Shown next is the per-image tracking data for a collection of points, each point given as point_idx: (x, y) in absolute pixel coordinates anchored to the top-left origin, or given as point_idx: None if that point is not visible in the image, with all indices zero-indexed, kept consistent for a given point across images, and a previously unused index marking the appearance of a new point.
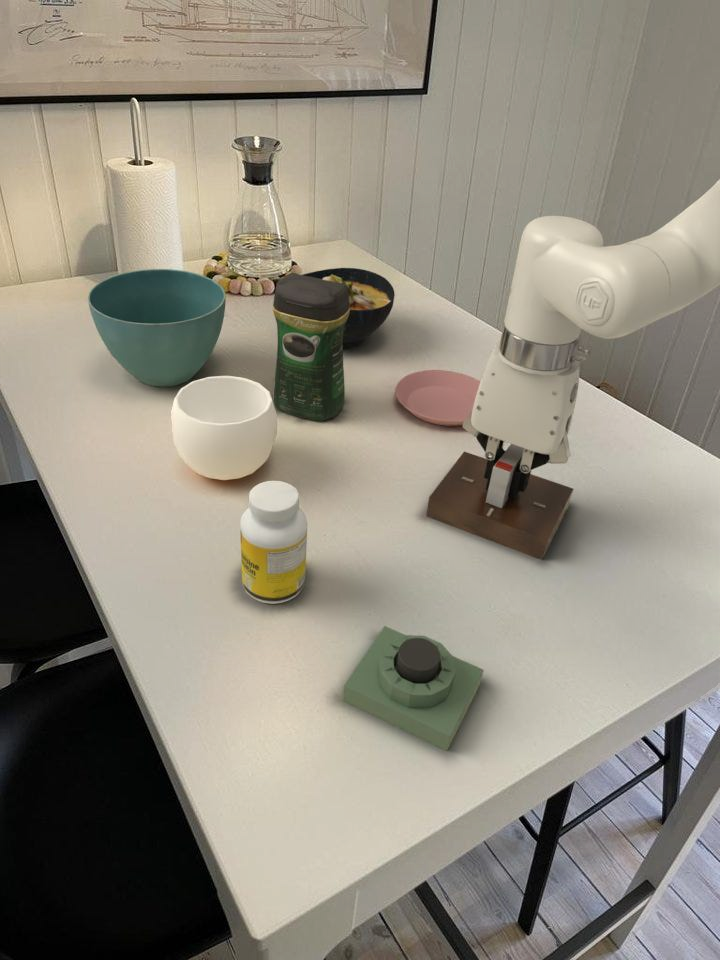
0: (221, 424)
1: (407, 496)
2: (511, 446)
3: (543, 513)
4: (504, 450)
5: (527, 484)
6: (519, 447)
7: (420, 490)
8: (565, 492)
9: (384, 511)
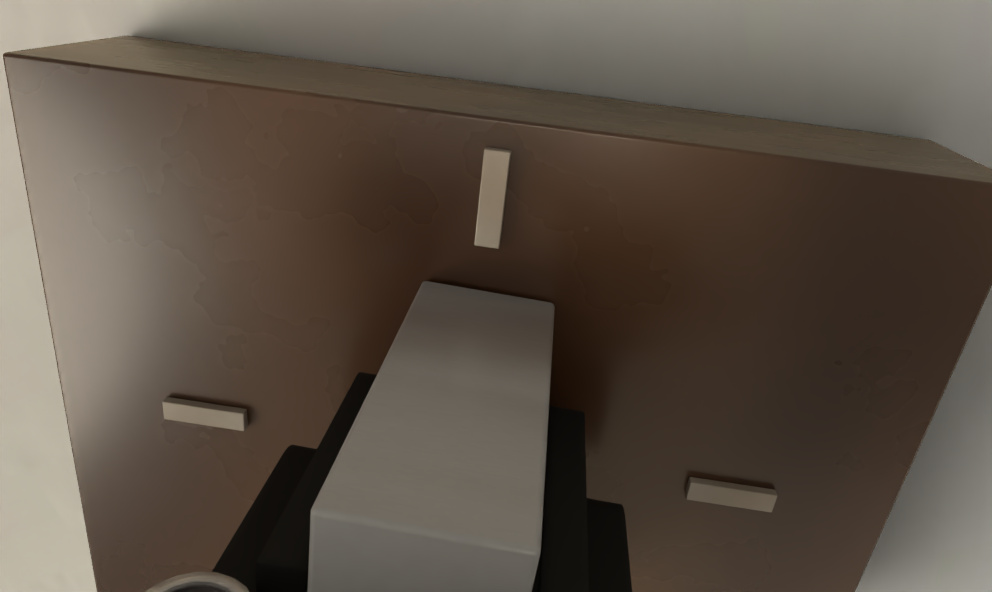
0: None
1: (20, 408)
2: (334, 587)
3: (762, 552)
4: (291, 567)
5: (622, 510)
6: (430, 582)
7: (42, 339)
8: (947, 277)
9: (7, 535)
